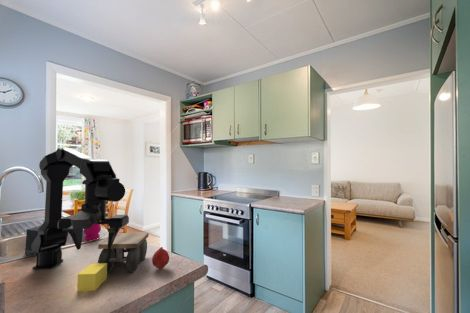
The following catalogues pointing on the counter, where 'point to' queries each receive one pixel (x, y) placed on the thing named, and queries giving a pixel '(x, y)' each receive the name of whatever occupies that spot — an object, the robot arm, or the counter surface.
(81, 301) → the counter surface
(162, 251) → the onion
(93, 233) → the pepper mill
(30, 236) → the small box
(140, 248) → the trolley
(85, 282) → the block
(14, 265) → the counter surface
